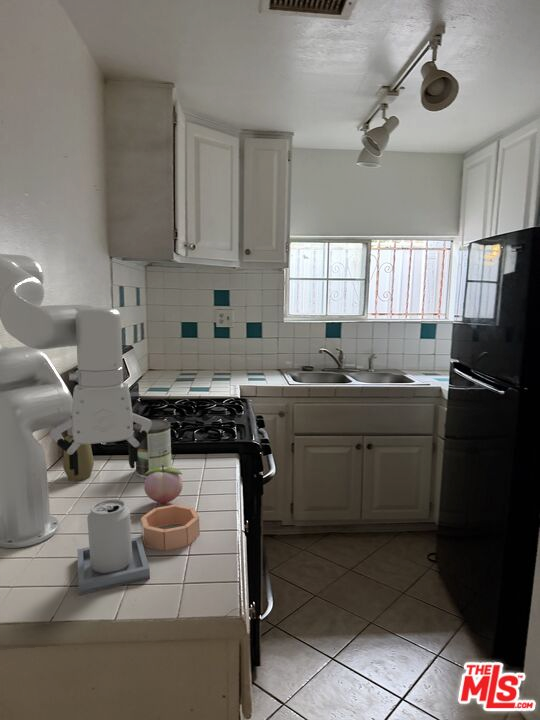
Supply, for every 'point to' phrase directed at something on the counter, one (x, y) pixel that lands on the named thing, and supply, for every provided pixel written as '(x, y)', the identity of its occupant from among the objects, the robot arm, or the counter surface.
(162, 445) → the coffee can
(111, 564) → the can
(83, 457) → the squeeze bottle
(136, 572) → the slate tray
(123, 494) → the counter surface
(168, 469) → the decorative fruit
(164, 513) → the terracotta ring
